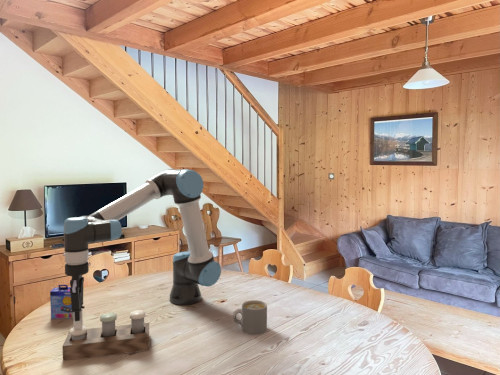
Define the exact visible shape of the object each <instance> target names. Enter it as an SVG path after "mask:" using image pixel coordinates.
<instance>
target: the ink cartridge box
mask: <svg viewBox="0 0 500 375" xmlns="http://www.w3.org/2000/svg"><path fill="white" fill-rule="evenodd" d="M70 287H71V286H68V285H67V284H58V286H57V287H54V288H52V289H51V290H50V291H49V296H50V298H49V299H50V320H57V319H58V320H61V319H63V320H66V319H72V320H73V312H71V310H72V305H71V293H70Z"/></svg>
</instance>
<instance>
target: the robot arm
mask: <svg viewBox="0 0 500 375" xmlns="http://www.w3.org/2000/svg"><path fill="white" fill-rule="evenodd" d="M144 183H145V184H143V185H141V186H139V187H137V188H135V189H133V190H132V191H130V192H128V193H127V194H125V195H123V196H122V197H120V198H118V199H116V200H114V201H112V202H110V203H108V204H107V205H105V206H104V207H102V208H100V209H98V210H97V211H94V212H93V213H91V214H89V215H81V216H79V217H77V216H75V217H68V218H66V219H65V220H64V222H63V240H64V242H63V243H64V244H63V245H64V253H62V257H64V263H65V264H64V274H65V275H66V276H70V277H71V279H70V280H69V287H70V293H71V305H72V310H71V312H73V319H72V321H73V322H72V323H73V327H74V330H76V329H82V328H83V326H84V325H83V324H84V323H83V322H84V321H83V309H85V308H86V307H85V305H84V284H85V283H84V281H85V277H84V276H83V275H87V274H88V273H89V270H90V268H89V265H90V264H89V262H88V261H89V259H90V258H89V257H90V255H89V244H95V243H102V242H112V241H115V240H118V239H120V238H121V237H122V234H123V233H122V232H123V229H122V224H121V222H120V220H121V219H123V218H124V217H126V216H127V215H130V214H131V213H133V212H135V211H136V210H138V209H140V208H141V207H143V206H145V205H147V203H150V202H151V201H153V200H159V199H161V198H163V197H166V196H172V198H173V203H174V204H175V205H177V206H178V207H179V212H180V216H181V217H180V218H181V221H182V226H183V230H184V233H185V239H186V243H187V247H188V251H180V252H176V253H175V254H173V257H172V287H171V290H170V292H169V302H170V303H172V304H175V305H178V306H179V305H180V306H183V305H184V306H185V305H187V306H188V305H193V304H196V303H198V302H200V301H201V300H202V292H201V290H200V289H201V288H200V286H201V287H202V286H203V287H206V288H207V287H211V286H214V285H216V283H217V282H218V281H219V279H220V277H221V275H222V267H221V264H220V263H219V262H218V261H216V260H215V257H214V254H213V252H212V251H210V250H209V246H208V240H207V236H206V231H205V226H204V222H203V221H204V220H203V217H202V212H201V207H200V203H199V202H200V200H201V199H202V197H201V195H202V192H203V189H204V187H205V185H204V181H203V177H202V176H201V174H200V173H199V172H197V171H196V170H194V169H189V168H168V169H165V170H163V171H161V172H159V173H157V174H156V175H155V174H154V175H153V176H152V177H150V178H148V179H146V181H145V182H144Z"/></svg>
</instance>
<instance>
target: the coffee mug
mask: <svg viewBox="0 0 500 375" xmlns="http://www.w3.org/2000/svg"><path fill="white" fill-rule="evenodd" d="M238 314H241V318H240V319H237V315H238ZM232 319H233V322H234V323H235V324H237V325H239V326H241V330H242V332H243V333H244V334H247V335H250V336H251V335H252V336H257V335H262V334H265V333H266V332H267V330H268V304H267V303H266V302H265V301H262V300H255V299H254V300H253V299H251V300H247V301H246V300H245V301H244V302H243V303H242V304H241V308H237V309H235V310H234V311H233V315H232Z"/></svg>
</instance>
